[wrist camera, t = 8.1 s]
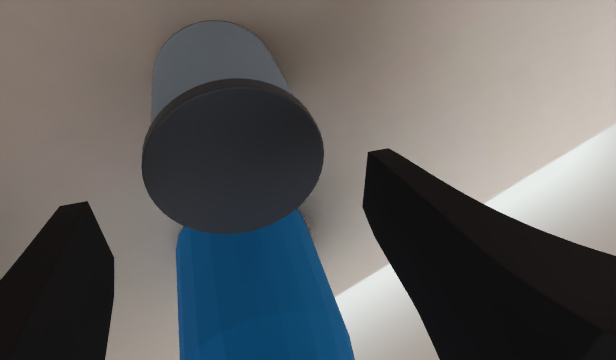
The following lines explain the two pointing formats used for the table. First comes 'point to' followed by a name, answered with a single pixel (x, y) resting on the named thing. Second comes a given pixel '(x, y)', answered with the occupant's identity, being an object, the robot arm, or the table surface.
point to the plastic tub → (226, 133)
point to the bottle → (257, 296)
